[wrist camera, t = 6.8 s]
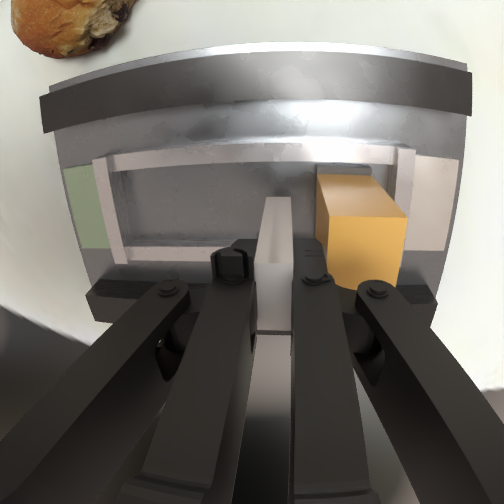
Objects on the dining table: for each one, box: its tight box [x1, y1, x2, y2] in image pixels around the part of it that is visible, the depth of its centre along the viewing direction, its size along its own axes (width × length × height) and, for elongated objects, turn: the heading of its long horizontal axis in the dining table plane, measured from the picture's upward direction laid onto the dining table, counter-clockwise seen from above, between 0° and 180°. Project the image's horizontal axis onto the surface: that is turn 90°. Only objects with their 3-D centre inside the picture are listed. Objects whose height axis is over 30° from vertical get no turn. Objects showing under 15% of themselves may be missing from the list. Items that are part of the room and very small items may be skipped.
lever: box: [314, 163, 408, 290], centre depth 15 cm, size 3×4×7 cm
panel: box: [39, 42, 472, 335], centre depth 18 cm, size 26×18×4 cm
